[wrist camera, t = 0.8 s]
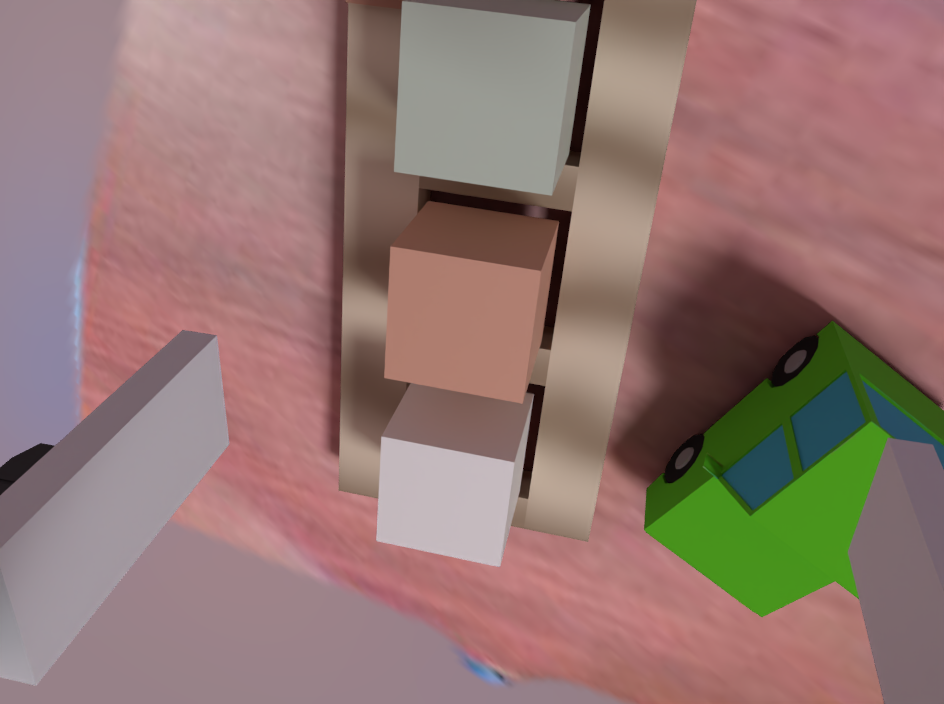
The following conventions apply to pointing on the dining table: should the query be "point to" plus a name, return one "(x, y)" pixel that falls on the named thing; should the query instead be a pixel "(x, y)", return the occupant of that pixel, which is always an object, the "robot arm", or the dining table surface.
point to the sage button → (489, 90)
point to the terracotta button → (468, 300)
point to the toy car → (789, 473)
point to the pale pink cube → (452, 473)
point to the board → (578, 190)
